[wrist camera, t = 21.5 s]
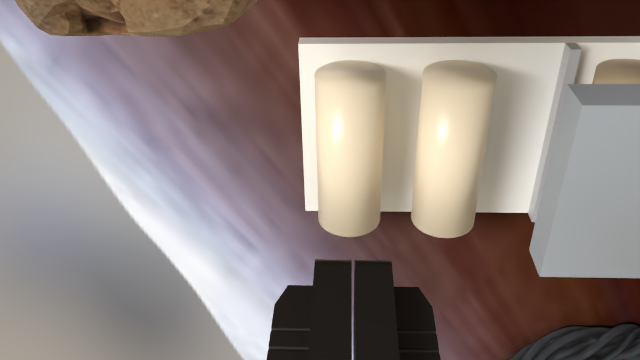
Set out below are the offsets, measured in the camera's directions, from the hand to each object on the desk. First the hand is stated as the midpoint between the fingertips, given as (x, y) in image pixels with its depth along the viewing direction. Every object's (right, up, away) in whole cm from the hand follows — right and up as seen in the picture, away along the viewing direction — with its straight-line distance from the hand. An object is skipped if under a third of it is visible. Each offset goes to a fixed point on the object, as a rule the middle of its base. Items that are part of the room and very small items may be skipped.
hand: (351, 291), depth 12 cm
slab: (+18, +2, +21) cm, 28 cm away
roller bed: (+12, +6, +26) cm, 29 cm away
